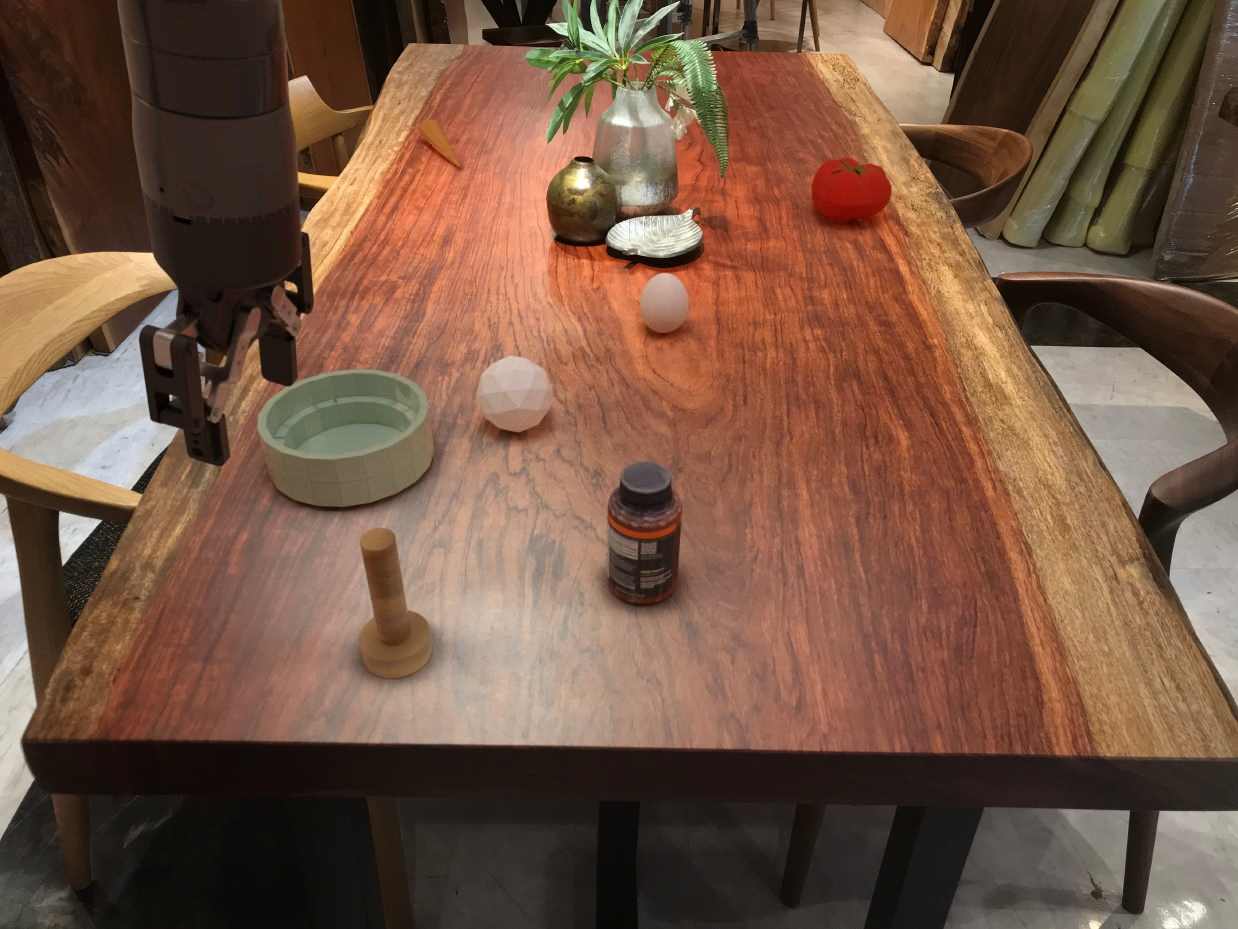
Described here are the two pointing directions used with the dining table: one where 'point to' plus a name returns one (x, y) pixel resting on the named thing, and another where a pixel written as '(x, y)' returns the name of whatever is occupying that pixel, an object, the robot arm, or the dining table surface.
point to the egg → (664, 303)
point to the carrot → (437, 138)
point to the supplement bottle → (643, 534)
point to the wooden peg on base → (390, 613)
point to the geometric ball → (514, 393)
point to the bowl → (346, 437)
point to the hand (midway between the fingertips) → (247, 418)
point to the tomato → (850, 190)
